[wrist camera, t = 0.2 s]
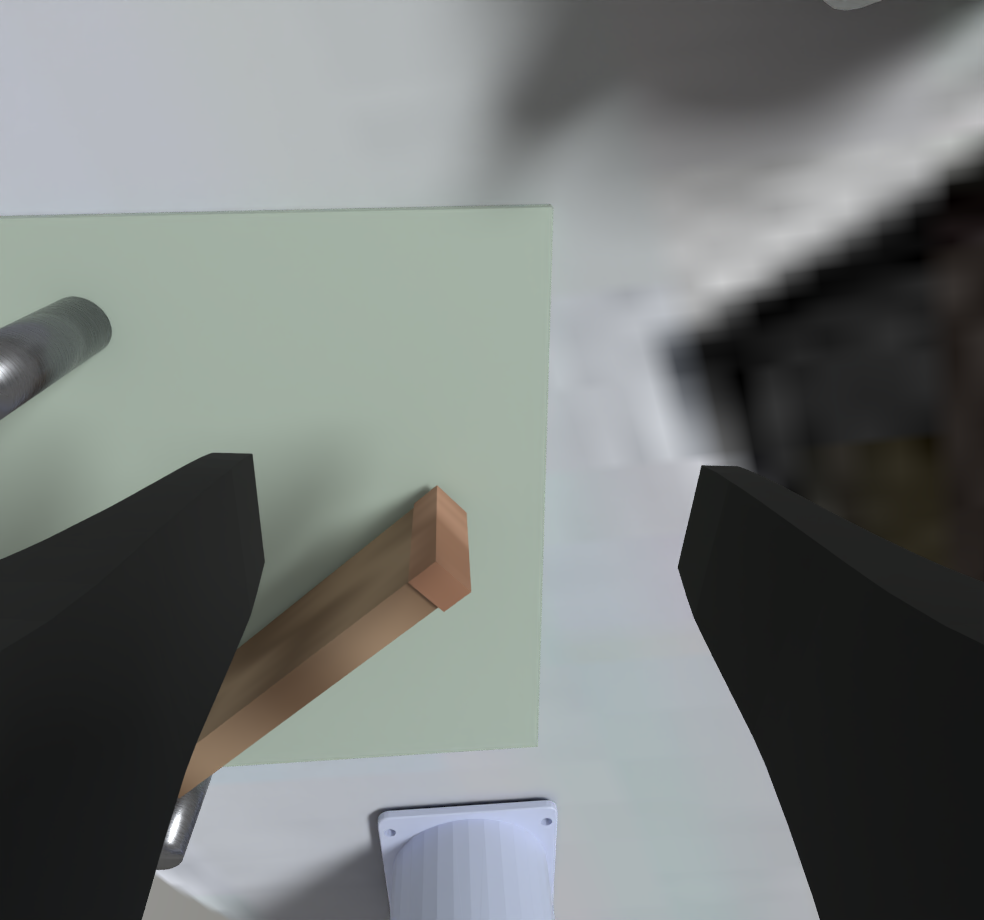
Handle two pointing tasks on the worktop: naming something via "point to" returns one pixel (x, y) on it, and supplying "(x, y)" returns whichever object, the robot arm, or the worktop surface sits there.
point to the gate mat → (316, 425)
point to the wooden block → (337, 628)
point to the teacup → (849, 4)
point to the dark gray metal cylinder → (24, 374)
